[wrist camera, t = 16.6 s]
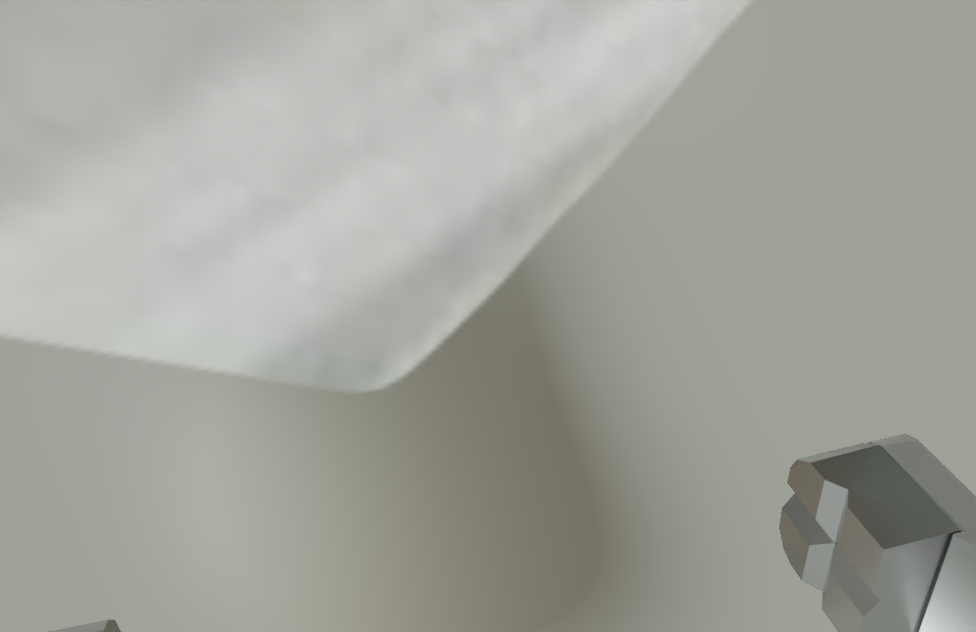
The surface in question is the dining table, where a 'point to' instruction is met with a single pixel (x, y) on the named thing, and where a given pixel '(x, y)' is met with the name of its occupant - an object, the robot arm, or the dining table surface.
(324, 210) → the dining table surface
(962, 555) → the robot arm
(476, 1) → the dining table surface
